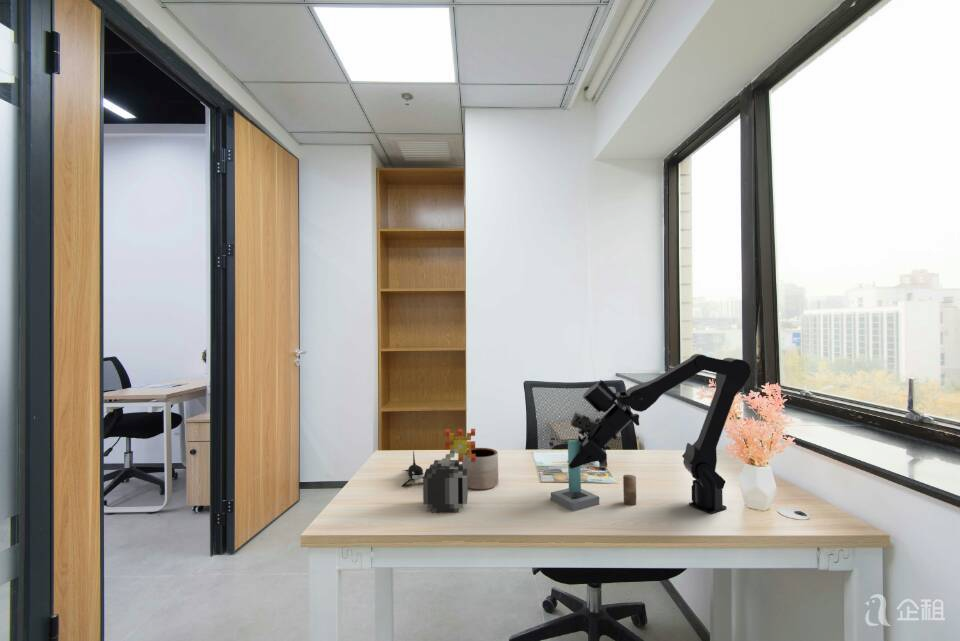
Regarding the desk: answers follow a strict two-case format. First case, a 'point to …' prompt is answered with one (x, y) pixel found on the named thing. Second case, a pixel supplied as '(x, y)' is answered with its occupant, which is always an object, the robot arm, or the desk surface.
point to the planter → (482, 468)
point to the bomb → (449, 476)
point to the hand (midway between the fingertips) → (569, 465)
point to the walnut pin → (629, 490)
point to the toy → (414, 471)
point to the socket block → (582, 502)
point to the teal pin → (575, 472)
